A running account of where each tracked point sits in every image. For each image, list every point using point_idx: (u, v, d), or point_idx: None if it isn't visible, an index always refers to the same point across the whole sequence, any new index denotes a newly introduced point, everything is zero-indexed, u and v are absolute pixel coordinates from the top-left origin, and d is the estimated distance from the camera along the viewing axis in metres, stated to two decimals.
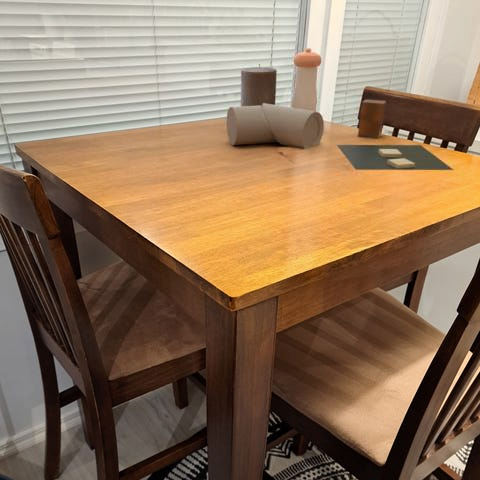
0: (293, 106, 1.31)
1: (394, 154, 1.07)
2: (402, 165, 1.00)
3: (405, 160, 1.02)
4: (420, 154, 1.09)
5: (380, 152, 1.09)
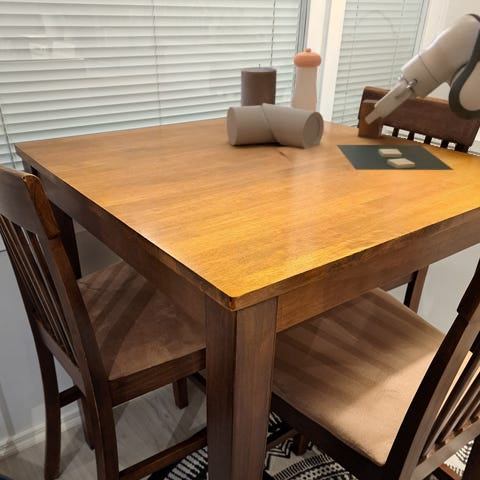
0: (293, 106, 1.31)
1: (394, 154, 1.07)
2: (402, 165, 1.00)
3: (405, 160, 1.02)
4: (420, 154, 1.09)
5: (380, 152, 1.09)
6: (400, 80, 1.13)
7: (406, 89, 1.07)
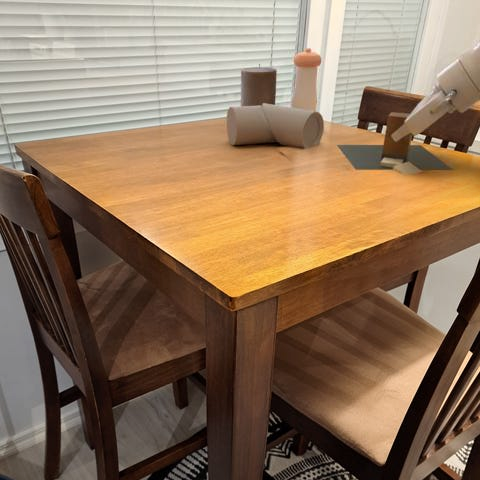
0: (293, 106, 1.31)
1: (392, 164, 1.00)
2: None
3: (411, 166, 0.99)
4: (420, 154, 1.09)
5: (382, 160, 1.03)
6: (435, 90, 0.94)
7: (445, 102, 0.88)
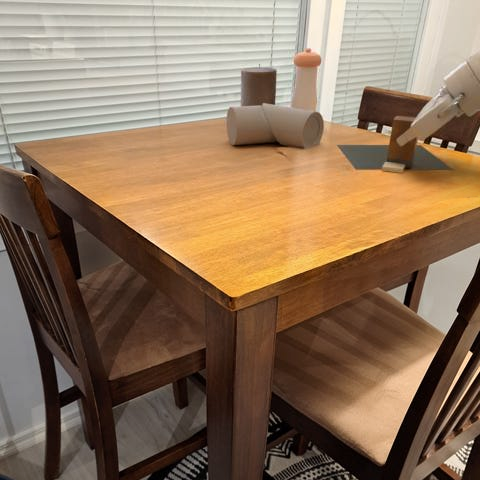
0: (293, 106, 1.31)
1: (394, 168, 0.98)
2: None
3: None
4: (420, 154, 1.09)
5: (383, 165, 1.00)
6: (442, 94, 0.91)
7: (453, 106, 0.85)
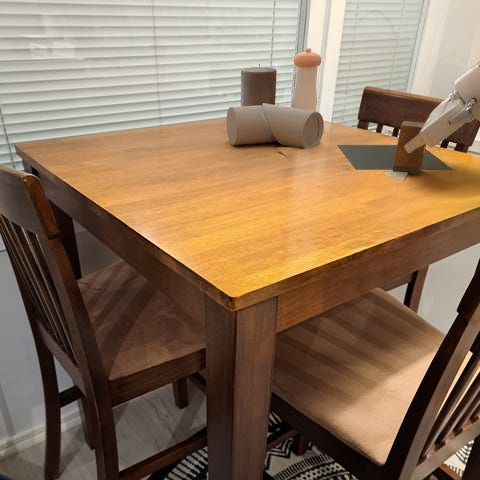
0: (293, 106, 1.31)
1: None
2: None
3: None
4: None
5: (385, 175, 0.97)
6: (453, 98, 0.87)
7: (465, 112, 0.80)
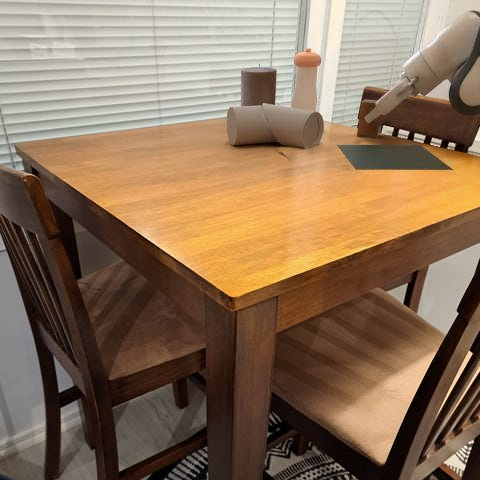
0: (293, 106, 1.31)
1: None
2: None
3: None
4: (420, 154, 1.09)
5: None
6: (401, 77, 1.13)
7: (407, 86, 1.06)
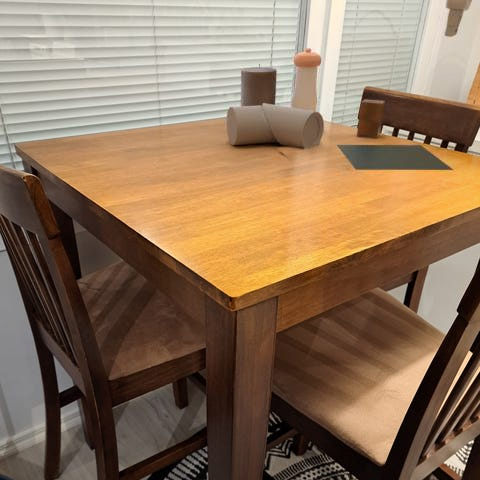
0: (293, 106, 1.31)
1: None
2: None
3: None
4: (420, 154, 1.09)
5: None
6: None
7: None
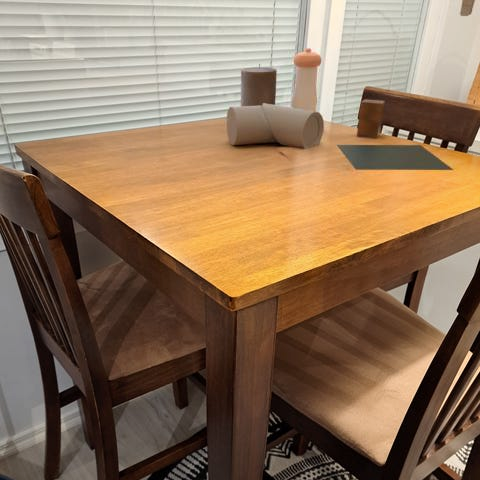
0: (293, 106, 1.31)
1: None
2: None
3: None
4: (420, 154, 1.09)
5: None
6: None
7: None
